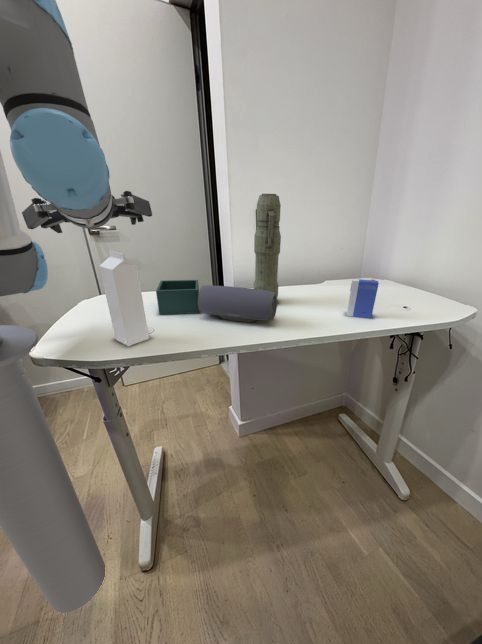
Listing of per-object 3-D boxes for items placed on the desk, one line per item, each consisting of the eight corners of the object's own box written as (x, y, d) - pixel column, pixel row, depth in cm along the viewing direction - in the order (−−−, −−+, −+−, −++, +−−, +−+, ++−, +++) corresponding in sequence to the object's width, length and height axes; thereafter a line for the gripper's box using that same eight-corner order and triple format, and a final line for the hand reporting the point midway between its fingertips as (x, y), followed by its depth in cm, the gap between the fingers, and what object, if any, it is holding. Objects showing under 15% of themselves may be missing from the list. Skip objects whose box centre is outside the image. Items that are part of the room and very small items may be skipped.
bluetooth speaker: (276, 318, 92) (278, 287, 88) (270, 329, 84) (271, 295, 80) (210, 310, 97) (208, 280, 92) (198, 320, 89) (195, 287, 84)
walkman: (370, 315, 97) (378, 279, 91) (371, 318, 94) (379, 281, 89) (346, 313, 98) (352, 277, 93) (346, 315, 96) (352, 279, 90)
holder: (159, 314, 92) (155, 290, 88) (163, 302, 103) (160, 280, 99) (199, 313, 94) (198, 289, 91) (199, 301, 105) (198, 279, 102)
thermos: (271, 296, 113) (276, 194, 97) (282, 306, 103) (289, 194, 87) (249, 297, 111) (250, 193, 95) (258, 307, 101) (260, 193, 84)
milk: (128, 346, 72) (108, 254, 62) (115, 339, 75) (94, 251, 65) (149, 338, 76) (134, 251, 66) (136, 332, 80) (120, 248, 69)
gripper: (-18, 236, 37) (31, 250, 55) (179, 215, 45) (164, 233, 64) (-48, 169, 34) (14, 207, 53) (166, 160, 43) (154, 195, 62)
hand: (96, 221), depth 59 cm, fingers open, 13 cm apart
